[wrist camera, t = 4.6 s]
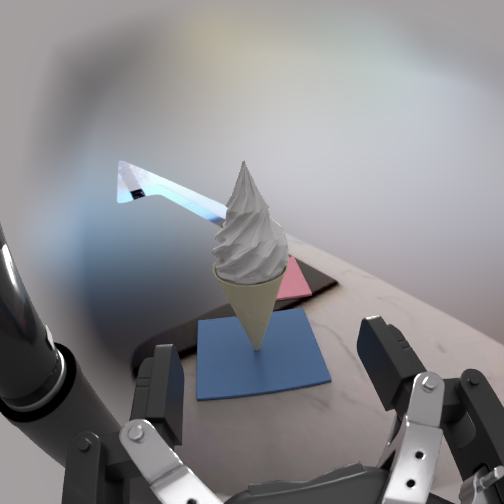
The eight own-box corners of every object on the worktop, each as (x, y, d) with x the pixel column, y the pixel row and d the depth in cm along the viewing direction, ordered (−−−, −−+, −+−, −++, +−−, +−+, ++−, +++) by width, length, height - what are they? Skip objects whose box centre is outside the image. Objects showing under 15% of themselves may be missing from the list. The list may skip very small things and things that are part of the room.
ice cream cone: (254, 382, 20) (235, 174, 13) (214, 347, 24) (182, 164, 17) (300, 347, 23) (304, 157, 16) (259, 320, 27) (247, 150, 20)
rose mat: (234, 306, 29) (233, 303, 29) (229, 266, 36) (229, 263, 36) (311, 295, 30) (312, 293, 30) (293, 258, 37) (293, 256, 37)
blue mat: (197, 400, 19) (196, 398, 19) (198, 322, 27) (198, 320, 27) (331, 381, 20) (331, 379, 20) (302, 309, 28) (302, 307, 28)
